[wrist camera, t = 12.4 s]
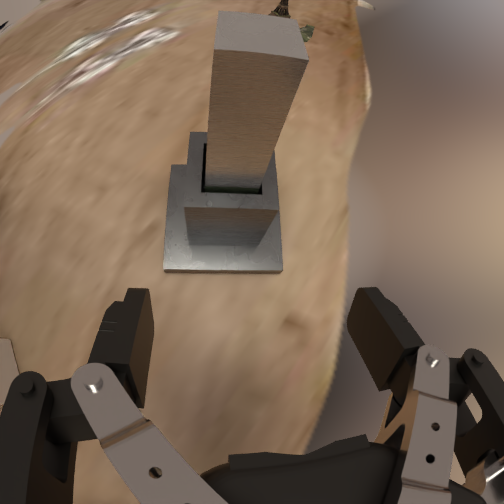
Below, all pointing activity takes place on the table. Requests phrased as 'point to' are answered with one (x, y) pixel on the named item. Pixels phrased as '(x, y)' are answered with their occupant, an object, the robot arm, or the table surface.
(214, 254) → the jack stand base
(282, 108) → the column
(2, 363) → the milk carton
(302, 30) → the eiffel tower figurine
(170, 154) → the table surface
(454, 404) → the robot arm
